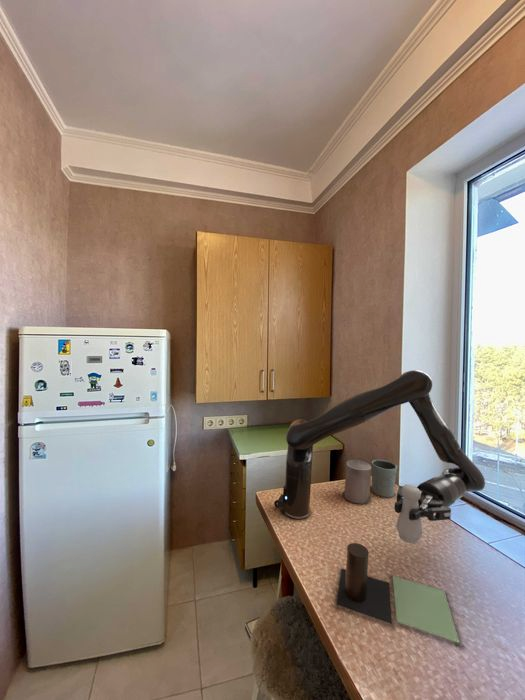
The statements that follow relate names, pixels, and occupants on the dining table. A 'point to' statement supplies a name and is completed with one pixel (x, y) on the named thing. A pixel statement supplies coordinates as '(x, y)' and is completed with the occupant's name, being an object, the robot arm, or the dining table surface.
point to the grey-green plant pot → (383, 477)
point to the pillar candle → (357, 481)
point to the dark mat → (368, 599)
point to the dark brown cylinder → (356, 572)
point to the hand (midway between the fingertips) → (403, 512)
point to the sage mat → (423, 608)
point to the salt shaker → (405, 526)
